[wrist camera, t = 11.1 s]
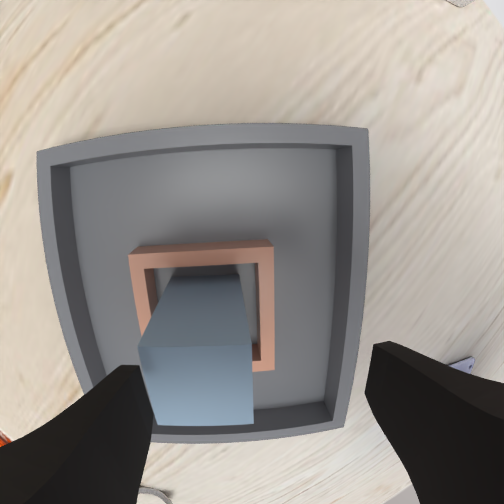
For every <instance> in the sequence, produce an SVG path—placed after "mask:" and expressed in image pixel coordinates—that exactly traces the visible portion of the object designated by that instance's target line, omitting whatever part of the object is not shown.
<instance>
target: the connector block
mask: <svg viewBox="0 0 504 504" xmlns="http://www.w3.org/2000/svg"><path fill="white" fill-rule="evenodd" d="M137 348H138V352H139V357H140V361H141V365H142V370H143V374H144V378H145V382H146V386H147V389H148V393H149V397H150V400H151V404H152V408H153V411H154V414H155V418H156V421H157V424H158V425H171V426H222V425H243V424H254V416H253V374H252V342H251V337H250V332H249V326H248V321H247V316H246V310H245V305H244V299H243V294H242V288H241V283H240V277H239V274H231V275H206V276H178V277H171V279H170V280H169V282H168V284H167V286H166V288H165V290H164V292H163V294H162V296H161V298H160V300H159V302H158V304H157V306H156V308H155V310H154V312H153V314H152V317H151V319H150V321H149V323H148V325H147V327H146V329H145V331H144V333H143V335H142V337H141V340H140V342H139V344H138V346H137Z"/></svg>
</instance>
